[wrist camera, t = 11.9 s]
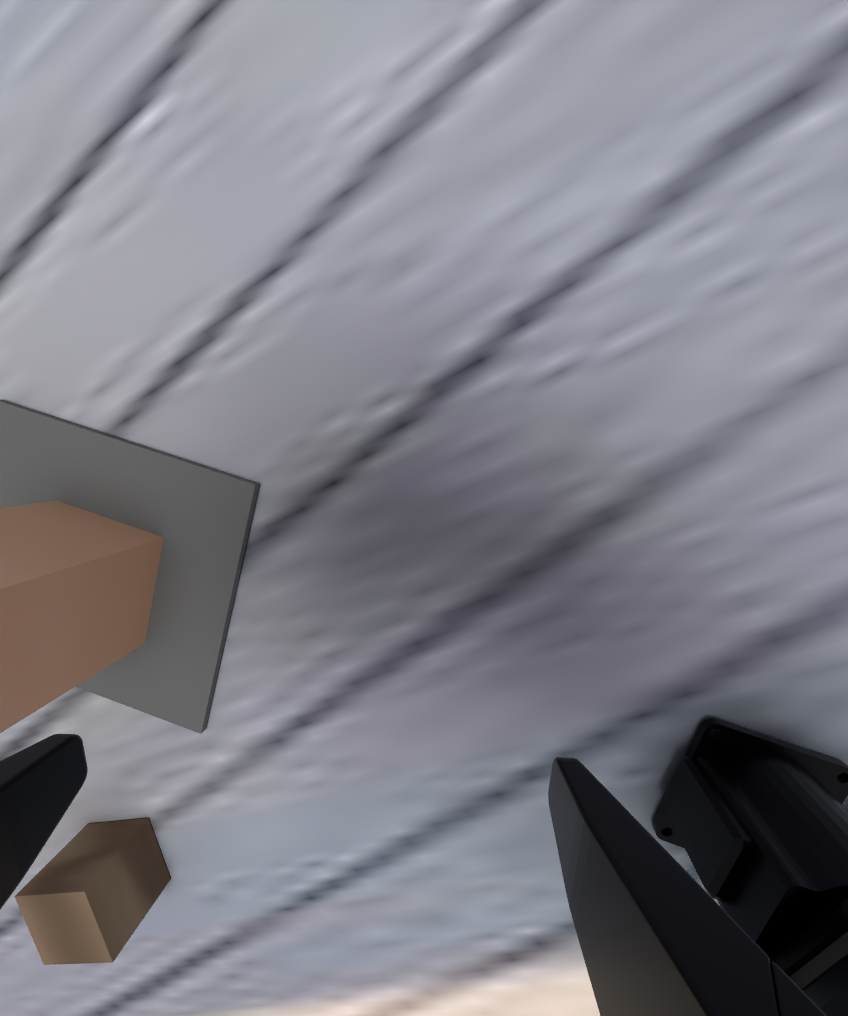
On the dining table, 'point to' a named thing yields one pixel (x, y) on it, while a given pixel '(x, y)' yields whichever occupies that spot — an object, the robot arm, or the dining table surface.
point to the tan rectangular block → (68, 600)
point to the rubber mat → (184, 556)
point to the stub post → (94, 892)
